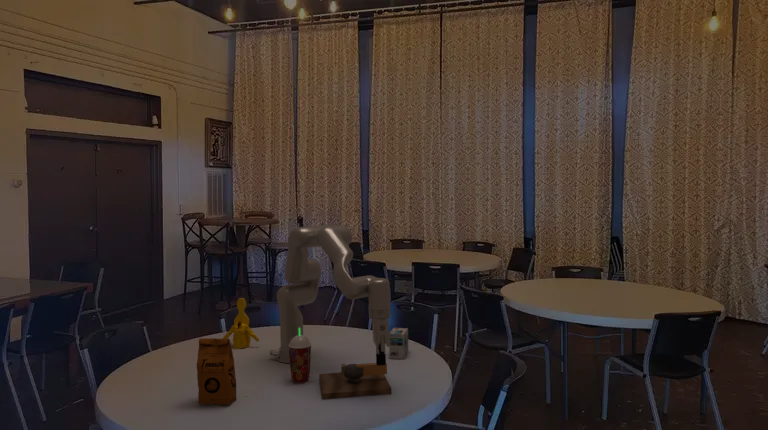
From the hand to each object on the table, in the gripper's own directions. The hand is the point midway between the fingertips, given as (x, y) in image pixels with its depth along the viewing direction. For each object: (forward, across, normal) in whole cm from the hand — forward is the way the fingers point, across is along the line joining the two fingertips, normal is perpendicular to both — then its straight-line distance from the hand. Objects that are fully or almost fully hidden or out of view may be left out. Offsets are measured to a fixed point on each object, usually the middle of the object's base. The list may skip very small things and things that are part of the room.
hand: (381, 364), depth 194 cm
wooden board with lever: (+9, +6, +9) cm, 14 cm away
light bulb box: (+9, +38, -14) cm, 41 cm away
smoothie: (+9, +16, +28) cm, 34 cm away
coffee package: (+9, 0, +56) cm, 57 cm away
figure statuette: (+8, +66, +54) cm, 86 cm away
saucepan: (+5, +5, +5) cm, 9 cm away
